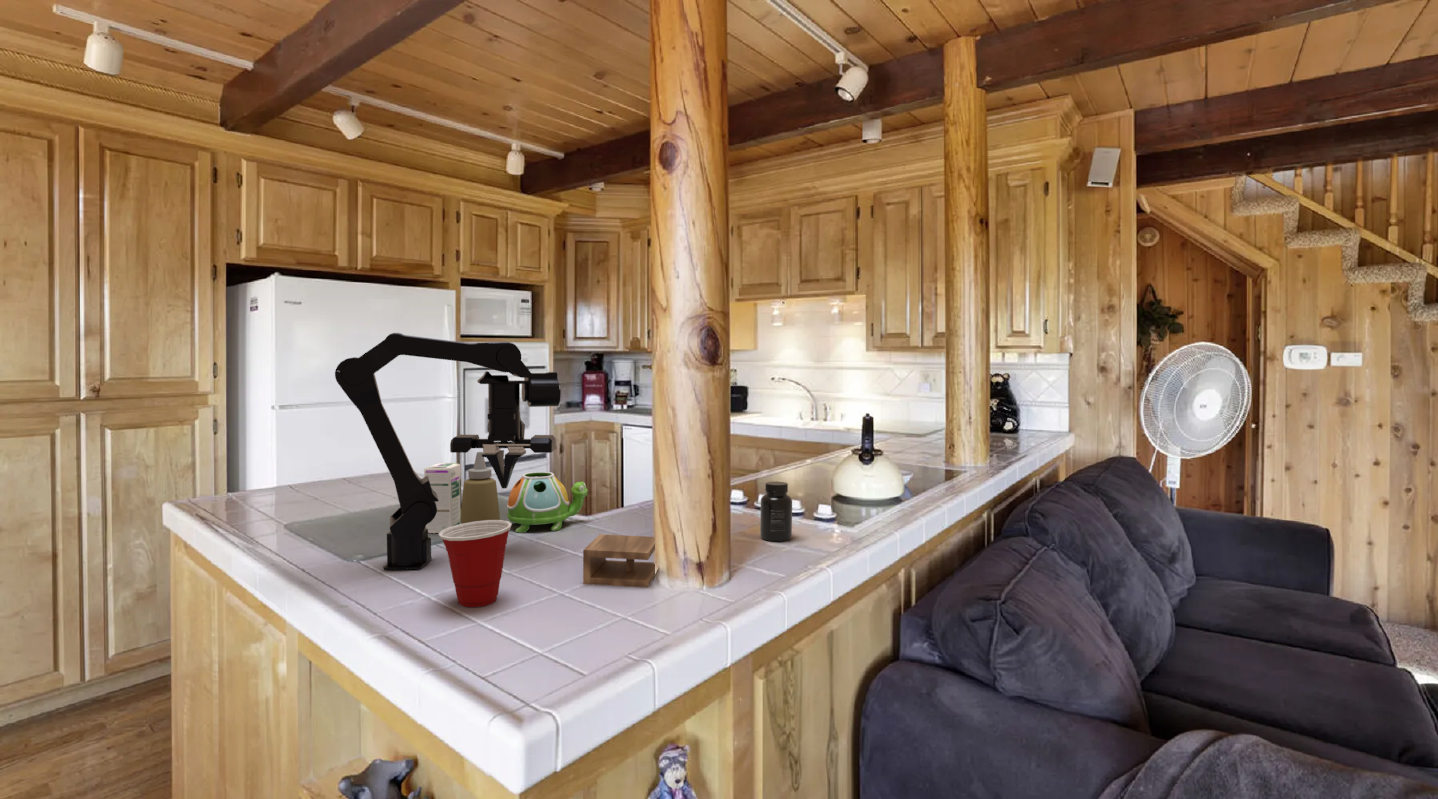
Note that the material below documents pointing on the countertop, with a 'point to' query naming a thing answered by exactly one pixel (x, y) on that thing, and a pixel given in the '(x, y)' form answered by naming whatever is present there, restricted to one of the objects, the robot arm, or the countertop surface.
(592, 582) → the wooden napkin holder
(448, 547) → the plastic cup
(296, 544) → the countertop surface
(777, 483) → the supplement bottle
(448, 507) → the syrup box
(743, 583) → the countertop surface
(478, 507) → the squeeze bottle
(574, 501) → the turtle holder
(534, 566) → the countertop surface
